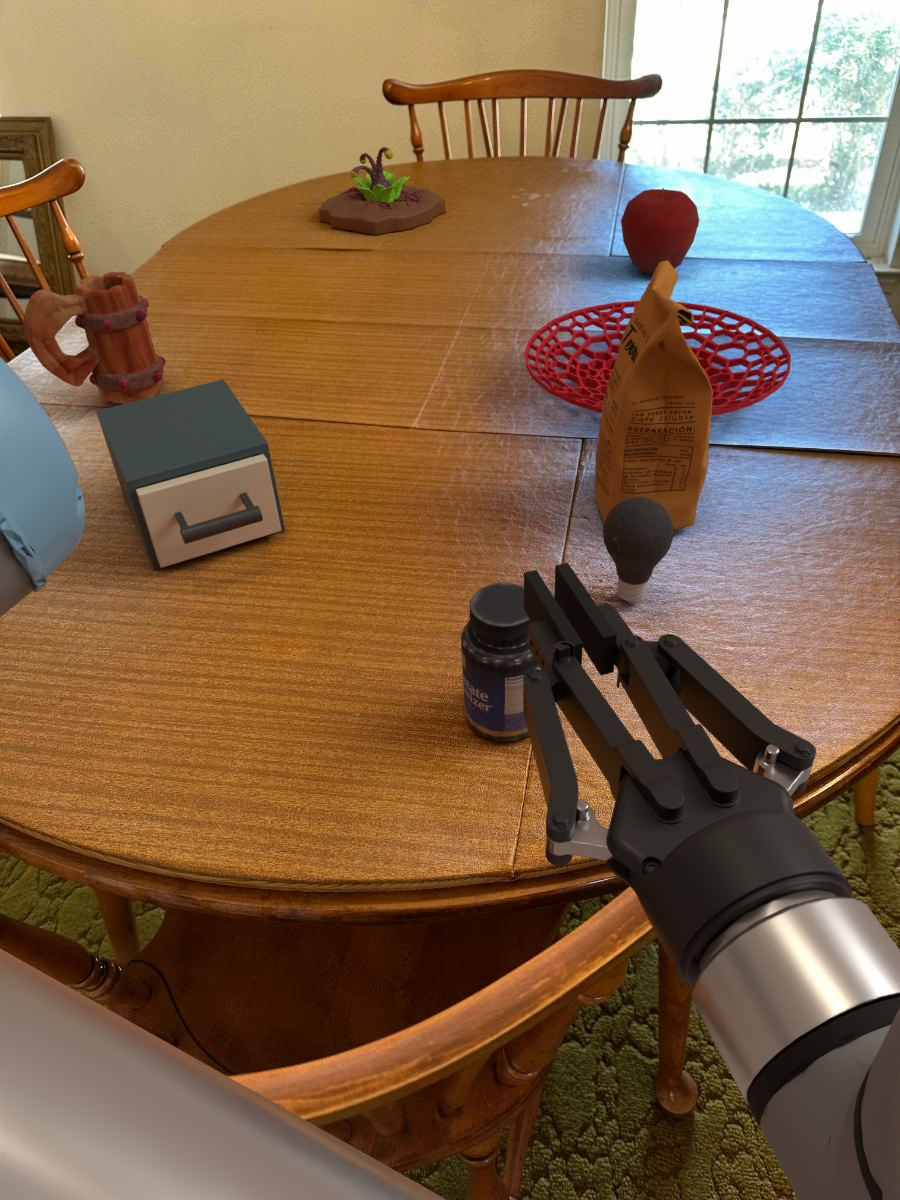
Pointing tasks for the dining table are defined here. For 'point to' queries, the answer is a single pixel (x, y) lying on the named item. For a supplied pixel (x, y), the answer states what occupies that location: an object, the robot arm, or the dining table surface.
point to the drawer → (209, 509)
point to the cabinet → (178, 442)
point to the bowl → (726, 400)
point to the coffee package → (655, 411)
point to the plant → (380, 202)
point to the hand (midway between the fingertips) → (545, 586)
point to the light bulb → (637, 543)
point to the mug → (98, 337)
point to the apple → (659, 228)
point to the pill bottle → (496, 662)
